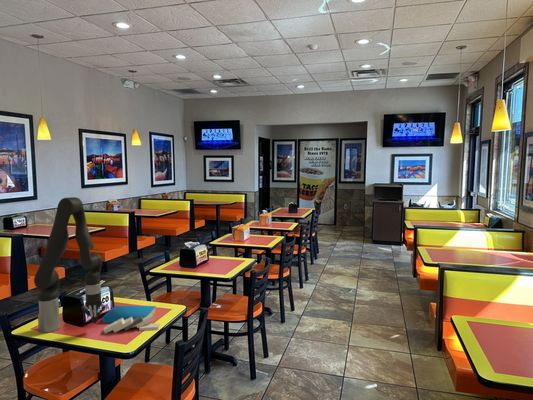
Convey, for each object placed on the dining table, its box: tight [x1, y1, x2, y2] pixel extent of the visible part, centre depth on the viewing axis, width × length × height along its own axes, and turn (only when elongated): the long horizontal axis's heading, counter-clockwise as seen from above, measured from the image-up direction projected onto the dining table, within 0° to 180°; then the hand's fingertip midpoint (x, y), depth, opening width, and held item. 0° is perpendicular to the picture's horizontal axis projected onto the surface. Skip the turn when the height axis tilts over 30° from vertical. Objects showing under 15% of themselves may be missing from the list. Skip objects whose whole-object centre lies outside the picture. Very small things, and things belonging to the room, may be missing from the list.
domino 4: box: [135, 314, 156, 329], centre depth 206 cm, size 2×5×10 cm
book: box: [102, 305, 157, 324], centre depth 219 cm, size 17×4×25 cm
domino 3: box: [123, 315, 143, 332], centre depth 203 cm, size 2×5×10 cm
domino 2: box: [112, 317, 133, 333], centre depth 202 cm, size 2×5×10 cm
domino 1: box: [103, 318, 124, 335], centre depth 200 cm, size 2×5×10 cm
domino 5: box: [138, 322, 161, 331], centre depth 204 cm, size 2×5×10 cm
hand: (94, 322), depth 200 cm, fingers closed
